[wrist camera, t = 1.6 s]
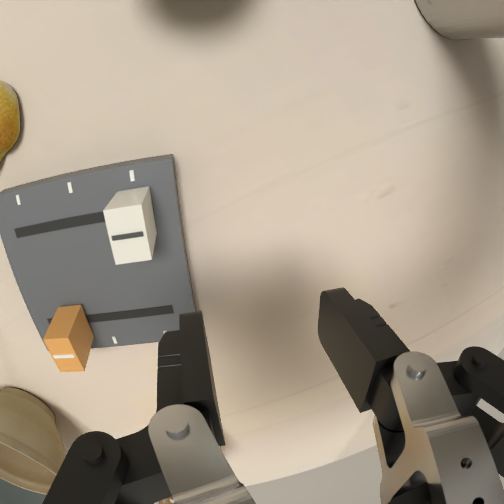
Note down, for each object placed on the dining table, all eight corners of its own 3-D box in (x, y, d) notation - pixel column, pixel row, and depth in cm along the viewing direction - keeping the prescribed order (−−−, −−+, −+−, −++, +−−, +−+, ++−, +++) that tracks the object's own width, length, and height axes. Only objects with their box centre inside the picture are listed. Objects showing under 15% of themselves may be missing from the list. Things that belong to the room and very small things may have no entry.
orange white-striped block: (81, 304, 24) (67, 338, 20) (93, 336, 26) (84, 372, 22) (58, 307, 24) (42, 340, 20) (71, 338, 25) (60, 372, 21)
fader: (149, 186, 21) (141, 204, 17) (156, 232, 23) (151, 260, 19) (117, 191, 21) (102, 211, 17) (126, 237, 23) (115, 265, 19)
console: (172, 154, 24) (171, 158, 21) (197, 320, 31) (199, 337, 28) (4, 189, 21) (-10, 198, 19) (54, 335, 28) (47, 351, 26)
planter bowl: (-34, 356, 27) (-63, 414, 17) (65, 382, 31) (47, 455, 21) (-1, 424, 33) (-15, 475, 23) (84, 446, 37) (79, 504, 28)
